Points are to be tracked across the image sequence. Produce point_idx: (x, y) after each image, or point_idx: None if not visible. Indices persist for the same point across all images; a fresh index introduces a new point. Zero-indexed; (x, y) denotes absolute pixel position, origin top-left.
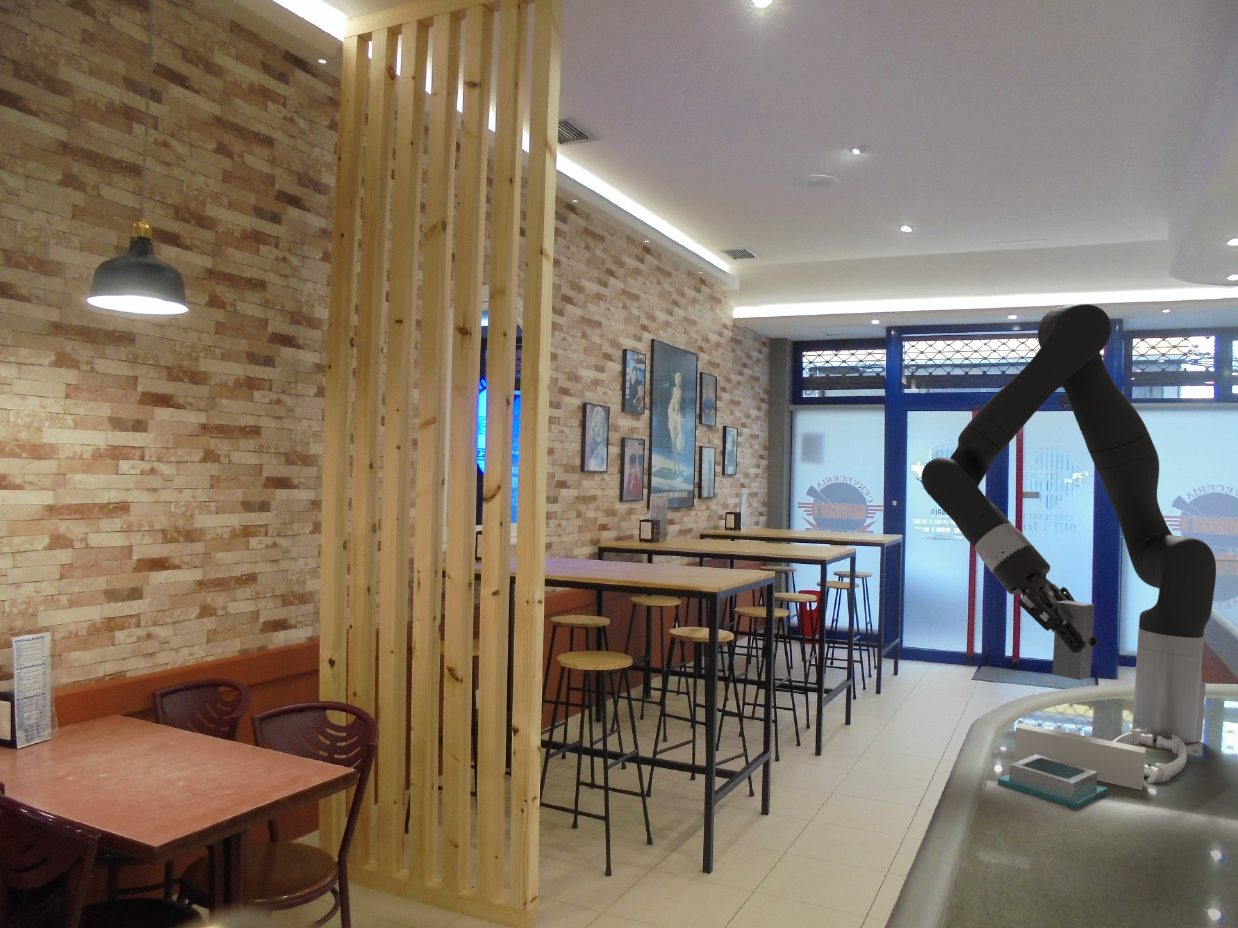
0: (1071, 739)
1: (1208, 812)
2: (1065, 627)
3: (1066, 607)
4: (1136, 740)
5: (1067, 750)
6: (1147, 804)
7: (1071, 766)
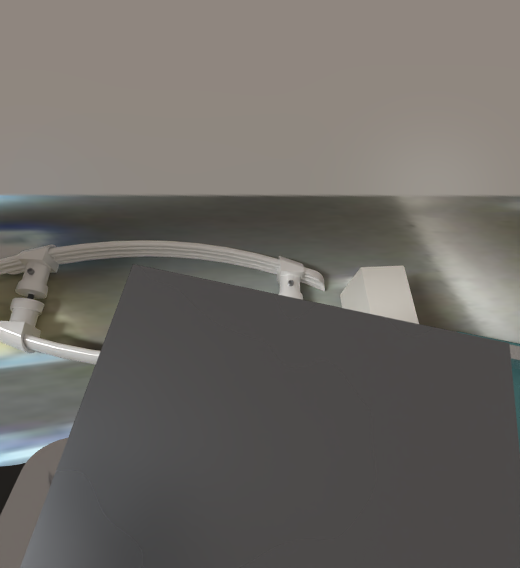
0: None
1: (394, 214)
2: None
3: None
4: (35, 332)
5: None
6: (441, 280)
7: None
